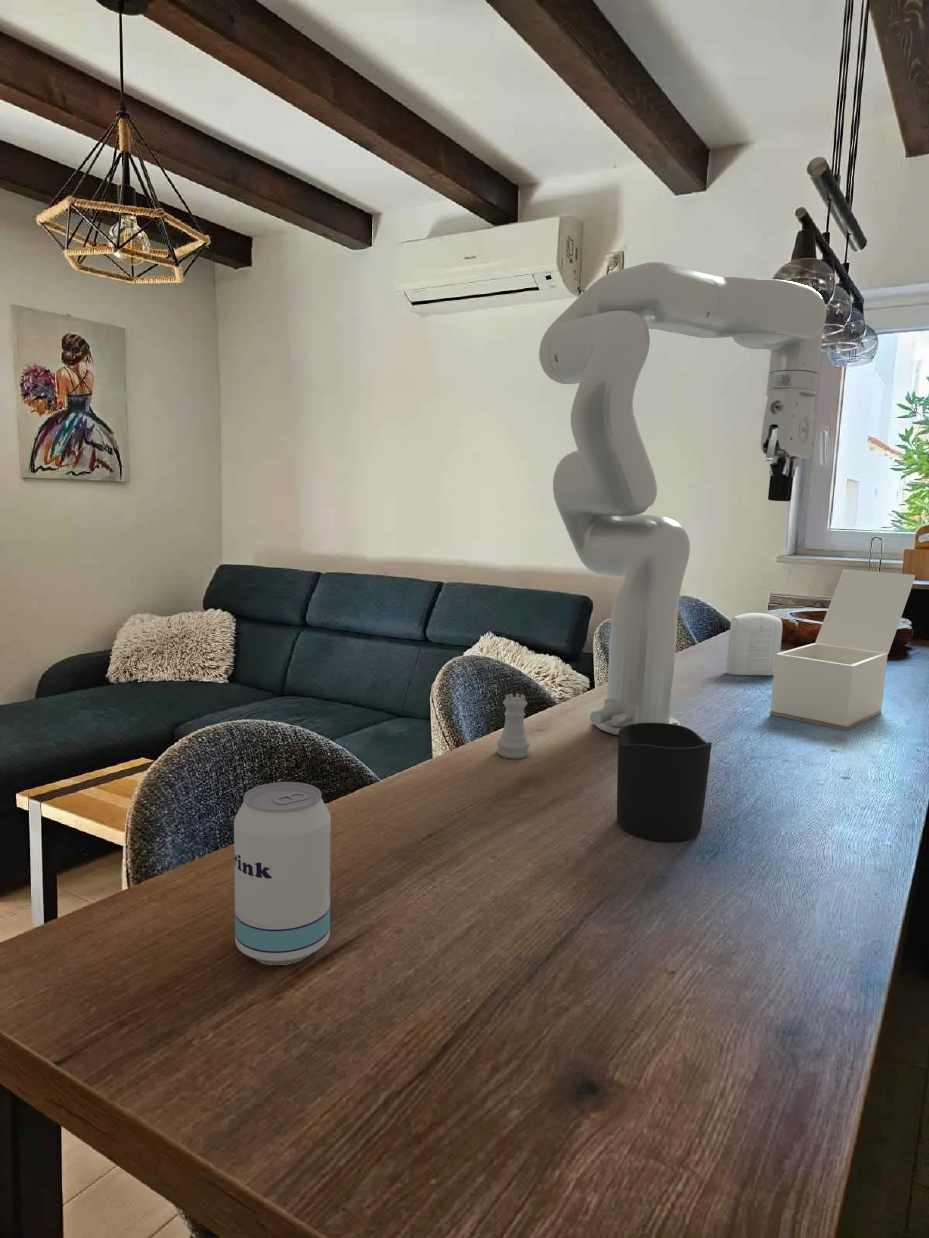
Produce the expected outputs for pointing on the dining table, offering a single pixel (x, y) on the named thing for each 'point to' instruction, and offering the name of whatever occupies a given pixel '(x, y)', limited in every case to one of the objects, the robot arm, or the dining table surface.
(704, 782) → the pen holder
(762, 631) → the photo printer
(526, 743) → the rook chess piece
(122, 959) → the dining table surface
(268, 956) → the beverage can
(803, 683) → the carton
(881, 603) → the carton lid
